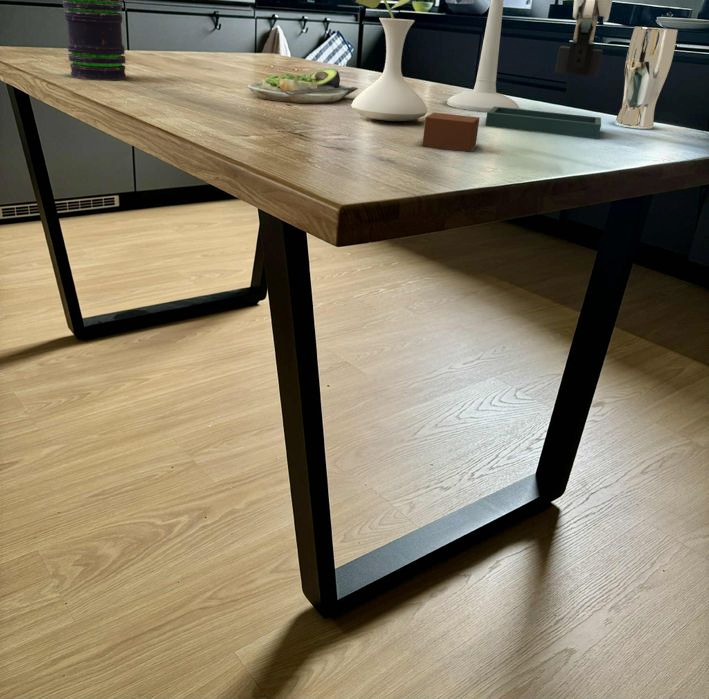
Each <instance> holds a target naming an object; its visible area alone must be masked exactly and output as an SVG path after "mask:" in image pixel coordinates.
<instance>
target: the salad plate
mask: <svg viewBox="0 0 709 699" xmlns="http://www.w3.org/2000/svg"><path fill="white" fill-rule="evenodd" d="M247 88H248V90H249V91H250V92H251V93H253V94H254V95H255V96H256V97H257V98H259V99H263V100H268V101H276V102H278V101H279V102H289V103H297V104H327V103H328V104H329V103H335V102H337V101H341V100H343V99H344V98H345V97H347V96H348V95H350V94H352V93H353V92H356V91H357V90H359V87H355V86H351V87H350V86H349V87H348V86H346V85H341V76H340V73H339V71H338V69H336V68H325V69H320V70H317V71H314V72H313V73H311V74H309V75H308V74H307V75H306V74H302V75H297V74H291V73H289V72H286V73H284V74H280V75H279V74H274V75H273V74H272V75H271V76H269V77H266V78H264V79H263V80H259V81H257V82H255V83H251V84H248V85H247Z"/></svg>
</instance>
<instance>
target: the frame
mask: <svg viewBox="0 0 709 699" xmlns="http://www.w3.org/2000/svg"><path fill="white" fill-rule="evenodd" d="M484 125H485V127H489V128H490V127H491V128H499V129H508V130H517V131H525V132H535V133H543V134H551V135H552V134H553V135H561V136H571V137H580V138H581V137H582V138H587V139H595V140H596V139H597V140H598V139H599V137H600V132H601V128H602V117H599V116H598V117H597V116H590V115H588V116H587V115H580V114H570V113H562V112H552V111H542V110H534V109H533V110H532V109H525V108H519V109H515V108H505V107H496V106H494V107H493V108H492V109H491V110H490V111H488V112H486V117H485V124H484Z"/></svg>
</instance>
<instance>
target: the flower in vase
mask: <svg viewBox="0 0 709 699" xmlns="http://www.w3.org/2000/svg"><path fill="white" fill-rule="evenodd" d="M410 1H411V0H398V1H397V2H396V3H395V4H394V5H392V7H390V5H389V3H388V2H387V0H383V2H384V5H385V7H386V9H387V11H388V13H389V15H390V18H389V17H379V18H378V19H379V21H380V23H381V25H382V27H383V30H384V31H383V32H384V34H385V47H386V48H385V50H386V52H385V63H384V67H383V72H382V73H381V75H380V76H379V78H377V80H375V81H374V82H373V83H372V84H371V85H369V86H368V87H367V88H365V89H364V90H362V92H360V93H359V94H357V96H356V97H355V98H354V99H353V101H352V103H351V108H352V110H353V111H354V113H356V114H359V115H360V116H362V117H366V118H369V119H371V120H372V119H373V120H377V121H384V122H385V121H386V122H407V121H414V120H418V119H421V118H423V117H426V115H427V113H428V107H427V105H426V103H425V102H424V100H423V99H422V98H421V96H420V95H419V94H418V93H417V92H416V91H415V90H414V89H413V88H412V87H411V86H410V84H408V82H407V81H406V80H405V78H404V76H403V73H402V56H403V49H404V44H405V40H406V37H407V34H408V33H409V30H410V28H411V27H412V25H413V24H414V23H415V19H404V18H395V16H394V14H393V11H392V9H395V8H397V7H400V6H403V5H405V4H407V3H409V2H410ZM381 2H382V0H355V3H356V4H359V5H362V6H365V7H368V8H371V9H375V8H377V7H379V5H380V3H381Z"/></svg>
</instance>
